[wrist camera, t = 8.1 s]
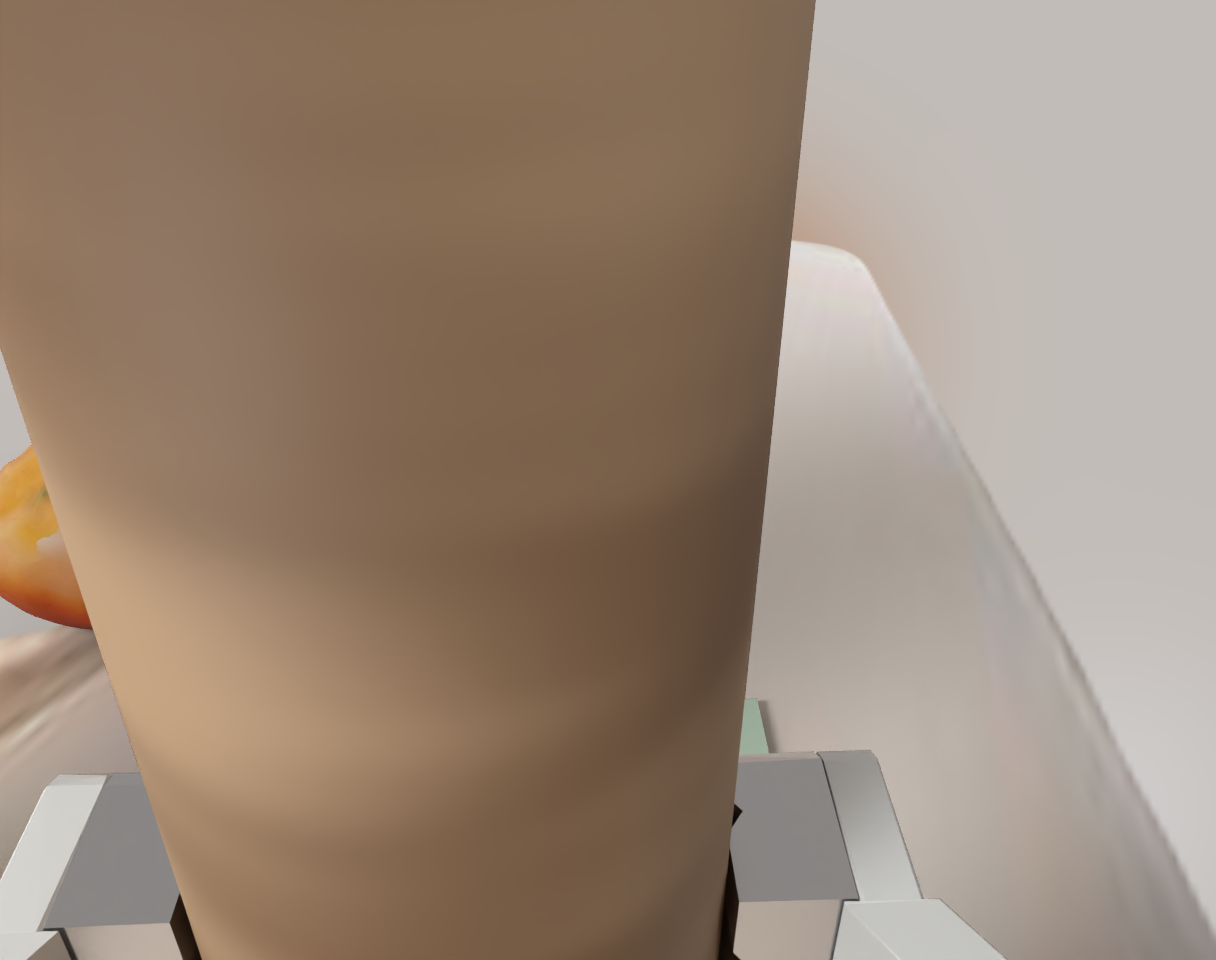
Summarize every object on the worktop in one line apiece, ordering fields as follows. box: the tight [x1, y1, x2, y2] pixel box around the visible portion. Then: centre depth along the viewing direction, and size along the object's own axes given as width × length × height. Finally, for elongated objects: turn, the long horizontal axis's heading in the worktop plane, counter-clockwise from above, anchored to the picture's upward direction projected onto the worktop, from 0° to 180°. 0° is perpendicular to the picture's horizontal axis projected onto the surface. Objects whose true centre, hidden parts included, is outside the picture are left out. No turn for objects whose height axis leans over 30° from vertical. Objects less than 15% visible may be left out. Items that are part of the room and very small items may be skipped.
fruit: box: [0, 445, 93, 629], centre depth 44 cm, size 8×8×8 cm
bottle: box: [0, 0, 816, 960], centre depth 10 cm, size 4×4×20 cm
